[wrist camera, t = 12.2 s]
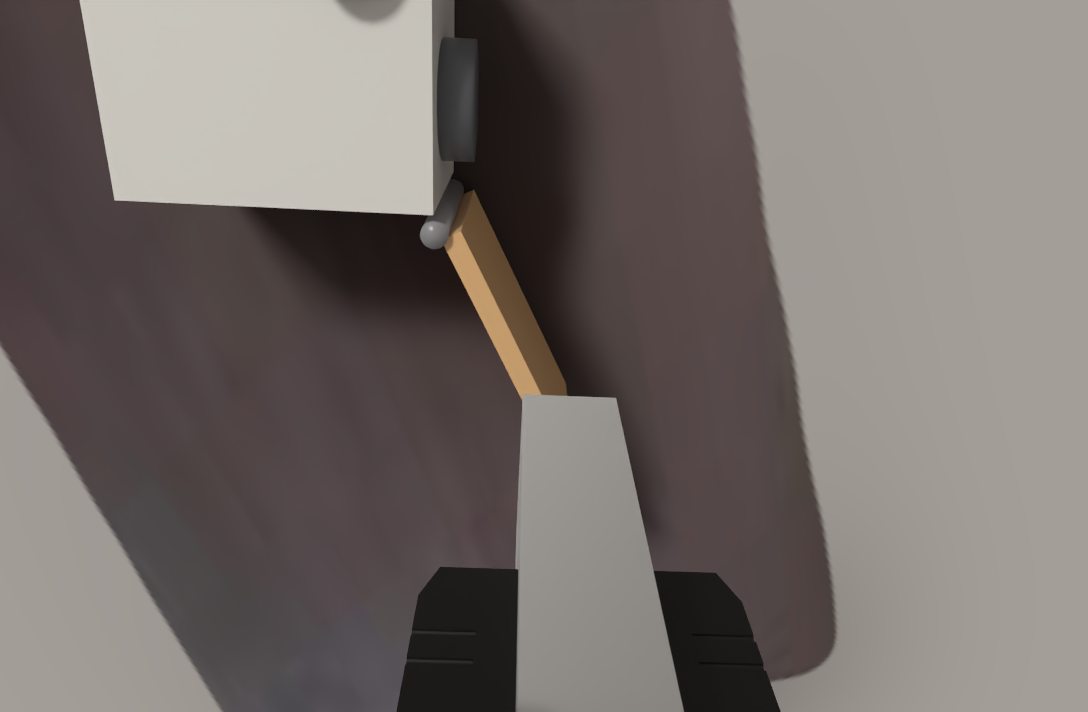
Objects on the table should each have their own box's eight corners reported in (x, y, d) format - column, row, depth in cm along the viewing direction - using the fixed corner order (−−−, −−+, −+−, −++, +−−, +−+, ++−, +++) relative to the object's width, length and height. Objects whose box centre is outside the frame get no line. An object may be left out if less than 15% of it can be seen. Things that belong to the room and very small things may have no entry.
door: (579, 472, 41) (589, 565, 34) (438, 184, 35) (415, 228, 28) (604, 462, 41) (619, 554, 34) (466, 171, 34) (450, 213, 28)
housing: (170, -103, 30) (39, -143, 22) (485, -84, 31) (469, -116, 23) (203, 162, 34) (103, 209, 26) (480, 175, 35) (465, 226, 27)
